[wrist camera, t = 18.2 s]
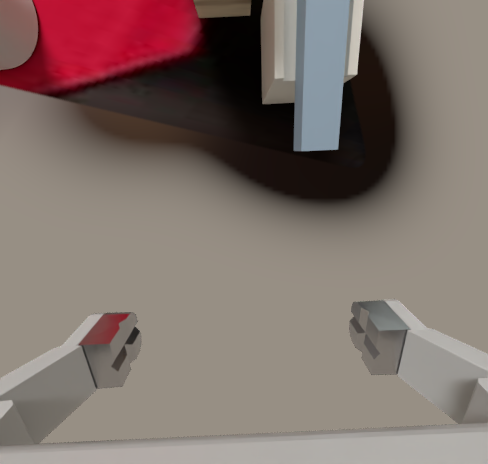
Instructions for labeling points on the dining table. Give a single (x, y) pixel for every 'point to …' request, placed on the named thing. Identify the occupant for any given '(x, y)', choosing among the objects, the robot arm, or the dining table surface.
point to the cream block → (284, 48)
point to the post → (222, 8)
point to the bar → (319, 73)
